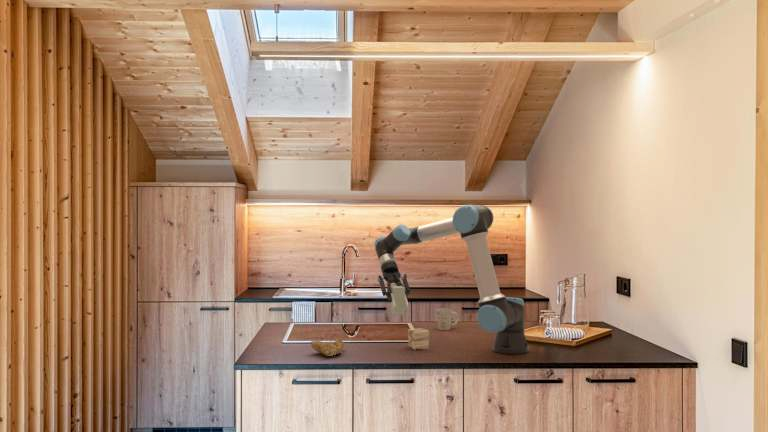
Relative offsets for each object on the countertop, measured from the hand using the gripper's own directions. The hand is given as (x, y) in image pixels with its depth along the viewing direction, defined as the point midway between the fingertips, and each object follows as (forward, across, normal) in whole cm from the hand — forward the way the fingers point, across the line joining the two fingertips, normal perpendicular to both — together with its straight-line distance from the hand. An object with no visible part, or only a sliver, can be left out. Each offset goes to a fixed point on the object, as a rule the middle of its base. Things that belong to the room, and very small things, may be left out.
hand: (400, 306), depth 268 cm
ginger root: (+11, +31, -16) cm, 37 cm away
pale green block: (0, 0, -5) cm, 5 cm away
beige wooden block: (+12, -9, -16) cm, 22 cm away
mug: (-14, -39, -41) cm, 58 cm away
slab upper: (+9, -9, -13) cm, 18 cm away
